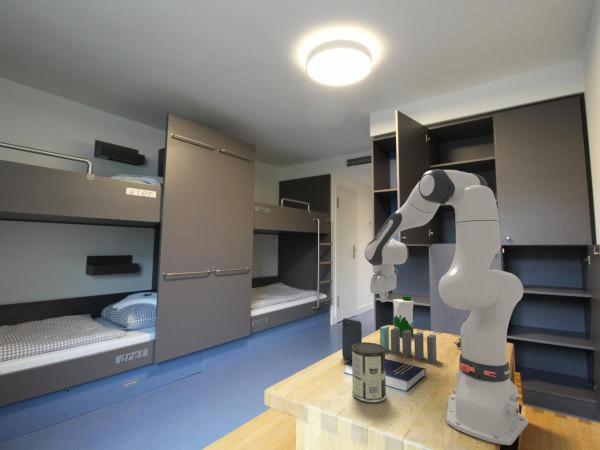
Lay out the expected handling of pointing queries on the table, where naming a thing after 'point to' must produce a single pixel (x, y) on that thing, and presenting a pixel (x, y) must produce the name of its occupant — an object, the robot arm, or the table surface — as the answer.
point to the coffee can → (368, 372)
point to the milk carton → (403, 314)
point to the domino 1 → (384, 337)
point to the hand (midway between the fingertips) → (383, 301)
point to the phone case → (350, 336)
